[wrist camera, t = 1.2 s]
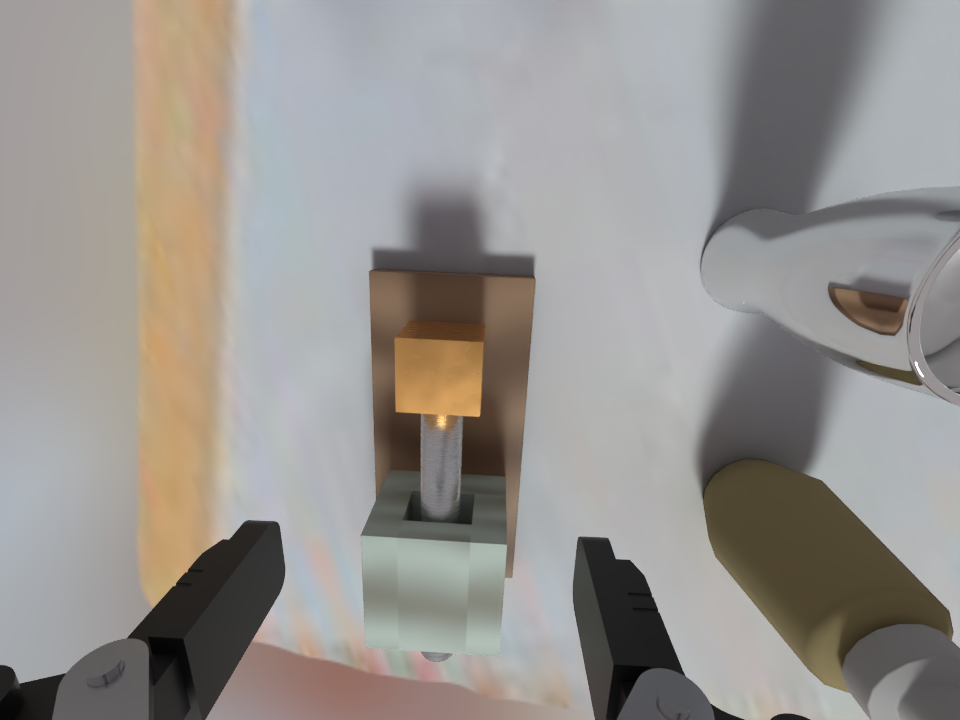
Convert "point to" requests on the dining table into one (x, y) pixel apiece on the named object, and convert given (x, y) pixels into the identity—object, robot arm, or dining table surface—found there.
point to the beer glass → (854, 282)
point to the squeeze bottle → (834, 591)
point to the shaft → (440, 407)
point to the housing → (484, 474)
